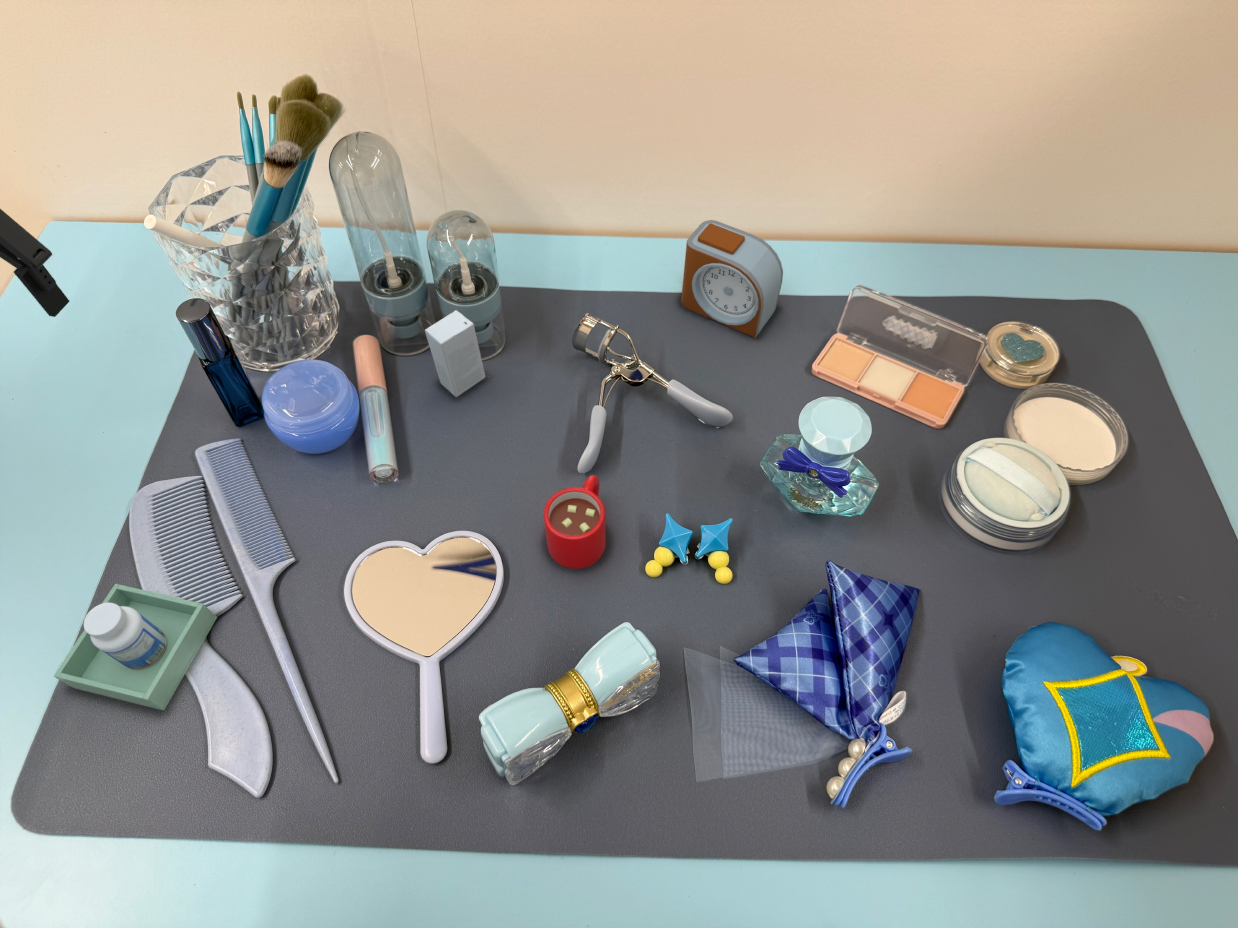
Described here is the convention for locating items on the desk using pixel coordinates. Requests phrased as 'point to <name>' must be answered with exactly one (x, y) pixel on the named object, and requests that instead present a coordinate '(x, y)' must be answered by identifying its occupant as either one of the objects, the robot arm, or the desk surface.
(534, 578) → the desk surface
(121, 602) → the tray
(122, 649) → the pill bottle
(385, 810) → the desk surface
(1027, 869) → the desk surface
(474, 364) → the cosmetic box
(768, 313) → the alarm clock
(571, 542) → the mug
